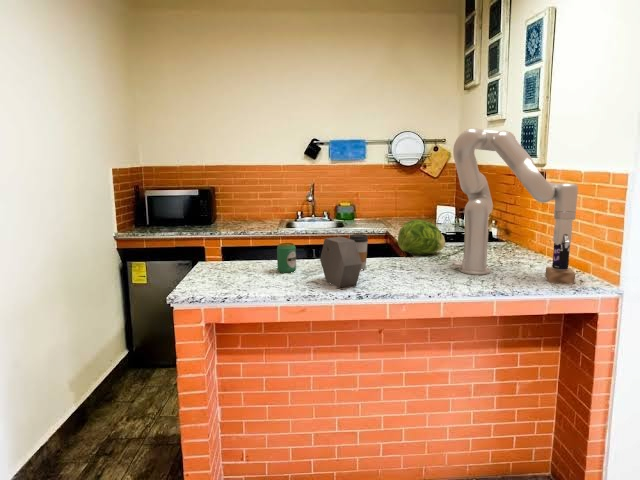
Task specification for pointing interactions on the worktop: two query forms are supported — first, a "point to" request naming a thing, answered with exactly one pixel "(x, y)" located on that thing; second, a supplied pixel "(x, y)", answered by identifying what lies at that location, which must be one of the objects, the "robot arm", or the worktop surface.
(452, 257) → the worktop surface
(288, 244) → the beverage can
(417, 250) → the lettuce
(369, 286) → the worktop surface
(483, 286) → the worktop surface
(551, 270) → the plinth
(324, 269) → the dark hexagonal prism
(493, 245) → the worktop surface
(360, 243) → the coffee cup
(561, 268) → the beverage can
